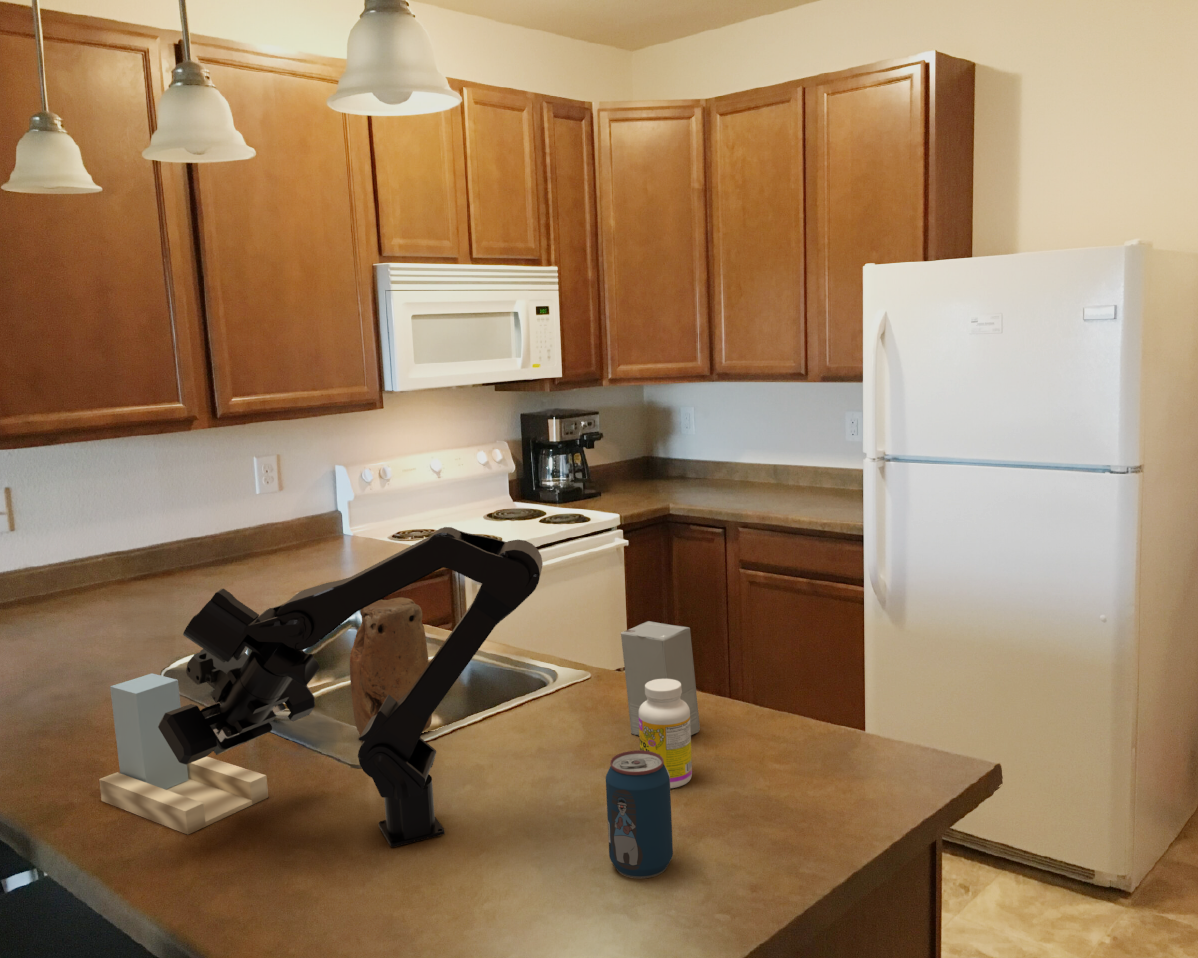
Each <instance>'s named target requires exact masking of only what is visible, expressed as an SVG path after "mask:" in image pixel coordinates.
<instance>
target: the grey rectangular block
mask: <svg viewBox="0 0 1198 958" xmlns="http://www.w3.org/2000/svg"><path fill="white" fill-rule="evenodd" d="M109 687H110V689H109V690H110V697H111V705H112V706H111V707H112V712H113V714H112V715H113V724H114V732H115V740H116V747H117V750H116V751H117V756H118V759H117V760H118V765H119V767H118V768H119V773H121V774H123V775H126V776H129V777H132V778H135V779H137V780H140V781H143V782H146V783H149V784H151V785H154V786H157V787H160V788H162V789H165V790H166V789H168V788H171V787H173V786H175V785H178V784H180V783H182V782H185V781H187V780H188V771H187V765H185V764H182V763H179V761H178V759H177V758H176V756H175V755H174V753H173V751H172V750H171V748H170V746H169V745H168V743H167V741H166V740H165V738H164V736H163V735H162V733H161V731H160V730H159V728H158V726H159V723H160V721H161V719H162V718H163V716H164V714H165V713H166V712H169V711H172V710H175V709H178V708H181V707H182V706H181V699H180V697H181V696H180V687H179V680H178V679H176V678H171V677H167V676H164V675H161V674H156V673H148V674H145V675H143V676H139V677H136V678H132V679H130V680H126V681H123V682H119V683H117V684H114V685H110V686H109Z"/></svg>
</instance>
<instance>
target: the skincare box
mask: <svg viewBox="0 0 1198 958" xmlns="http://www.w3.org/2000/svg"><path fill="white" fill-rule="evenodd" d="M620 638H621V639H620V640H621V647H622V657H623V663H624V664H623V666H624V675H625V685H626V687H625V688H626V693H627V703H628V704H627V707H628V716H629V724H630V726H629V727H630V733H631V734H632V735H635V736H639V708H640V706H641V705H642V703H643V702H645V701H646V700H647V697H646V695H645V684H646V683H647V682H649V681H652V680H656V679H673V680H677V681H679V682H680V683H681V688H682V693H681V696H680V699H681V700H683V701H684V702H686V703H687V705H688V706H689V709H690V731H691V736H692V735H695V734H698V733H699V732H700V729H701V725H700V715H699V706H698V696H697V694H698V693H697V687H696V686H697V685H696V675H695V674H696V673H695V663H694V657H693V656H694V655H693V654H694V653H693V644H692V635H691V628H690V627H688V626H683V625H674V624H668V623H663V622H661V623H660V622H655V621H650V620H647V621H645V622H643V623H640V624H638V625H636V626H634V627H632V628H629V629H627V630H625V631H624V630H623V631H621V632H620Z"/></svg>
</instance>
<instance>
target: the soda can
mask: <svg viewBox="0 0 1198 958" xmlns="http://www.w3.org/2000/svg"><path fill="white" fill-rule="evenodd" d="M609 763H610V764H609V765H610V766H609V768H608V771H607V773H606V775H605V791H606V794H605V795H606V796H605V797H606V815H607V817H606V818H607V836H608V840H607V841H608V856H609V859H610V862H611V864H612V865H613V866H614V868H616V869H615V870H617V872H618V873H619V874H621V875H622V876H624V877H627V878H631V879H640V880H641V879H650V878H653V877H656V876H659V875H661V874H663V872H665V871H666V870H667V868H668V866H669V864H670V863H671V861H672V859H673V855H674V847H673V845H674V844H673V826H672V825H673V820H672V798H671V797H672V796H671V788H670V775H669V772H668V770H667V769H666V767H665V765H664V760H663V758H662V757H661V756H660V755H659V754H657V753H654V752H650V751H644V750H640V749H639V750H638V749H637V750H628V751H624V752H621V753H618V754H616V755H615V756H613V757H612V758H611V760H610V762H609Z"/></svg>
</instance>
